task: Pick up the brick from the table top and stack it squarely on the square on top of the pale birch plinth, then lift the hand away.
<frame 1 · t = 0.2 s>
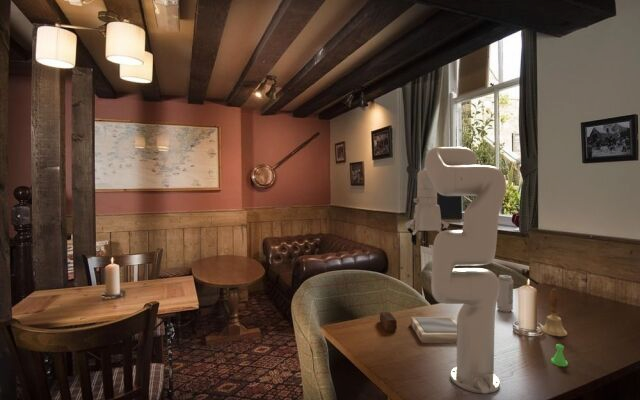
hand: (426, 244, 144), 31 cm above the table, tool pointing down, fingers open, 9 cm apart
energy drink can: (504, 311, 155), on the table
hand bell: (553, 332, 133), on the table
brick: (387, 327, 138), on the table
game piece: (559, 363, 110), on the table
plinth: (437, 333, 132), on the table
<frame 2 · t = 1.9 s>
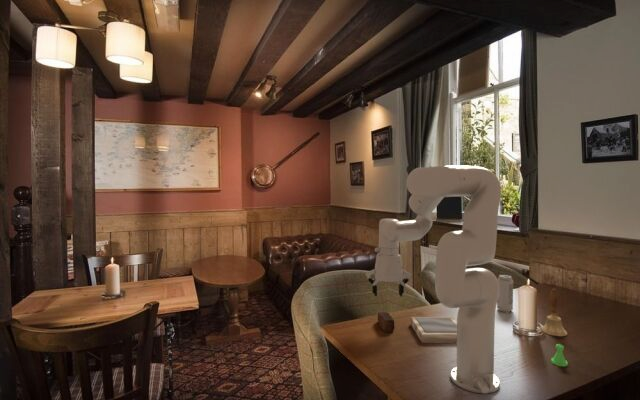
hand: (387, 295, 138), 12 cm above the table, tool pointing down, fingers open, 9 cm apart
nothing on the table moved.
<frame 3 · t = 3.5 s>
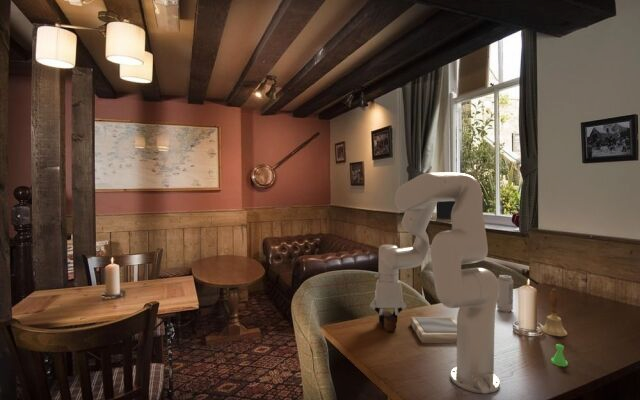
hand: (388, 323, 138), 1 cm above the table, tool pointing down, fingers closed on brick, 4 cm apart
brick: (388, 327, 138), on the table, touching gripper
everything else where it was.
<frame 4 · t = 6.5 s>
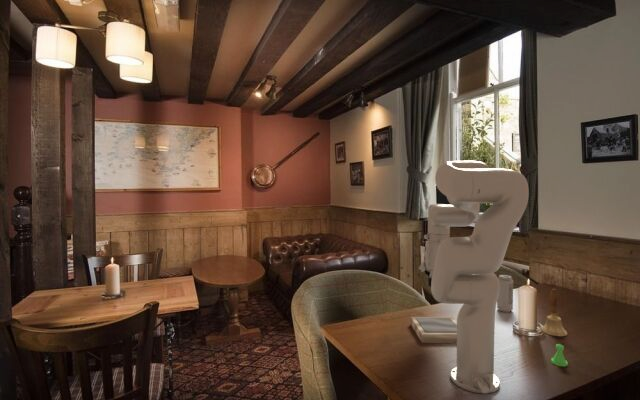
hand: (438, 287, 131), 17 cm above the table, tool pointing down, fingers closed on brick, 4 cm apart
brick: (438, 290, 131), point 16 cm above the table, touching gripper
everything else where it was.
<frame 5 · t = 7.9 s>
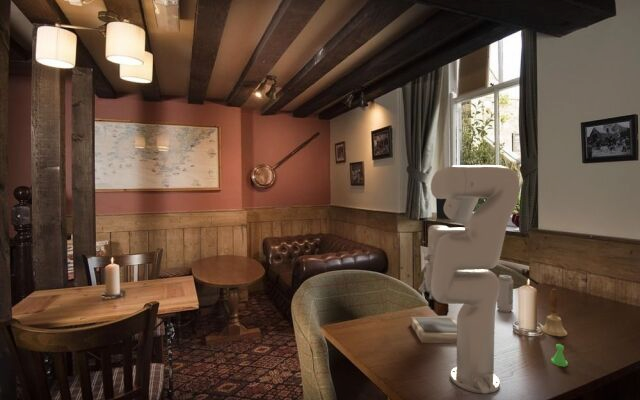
hand: (438, 308, 132), 9 cm above the table, tool pointing down, fingers closed on brick, 4 cm apart
brick: (437, 311, 132), point 8 cm above the table, touching gripper
everything else where it was.
when the fingers open (5 cm above the table, at t = 9.3 s): brick drops 1 cm, resting on plinth.
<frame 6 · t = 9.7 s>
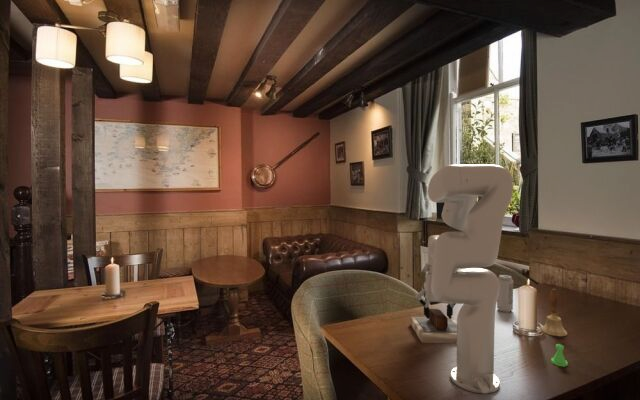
hand: (438, 316, 132), 6 cm above the table, tool pointing down, fingers open, 7 cm apart
brick: (437, 325, 132), point 3 cm above the table, touching plinth
everything else where it was.
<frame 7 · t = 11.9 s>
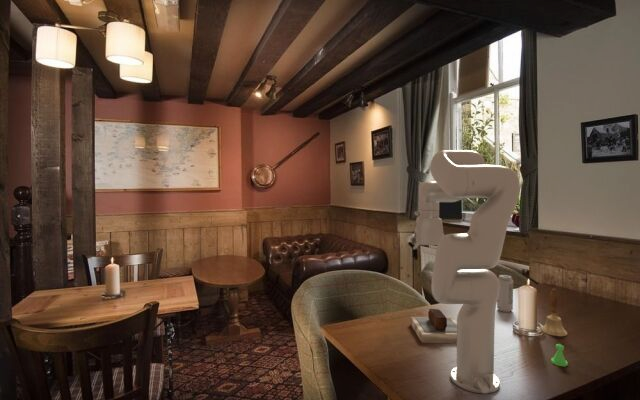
hand: (428, 259, 137), 26 cm above the table, tool pointing down, fingers open, 9 cm apart
nothing on the table moved.
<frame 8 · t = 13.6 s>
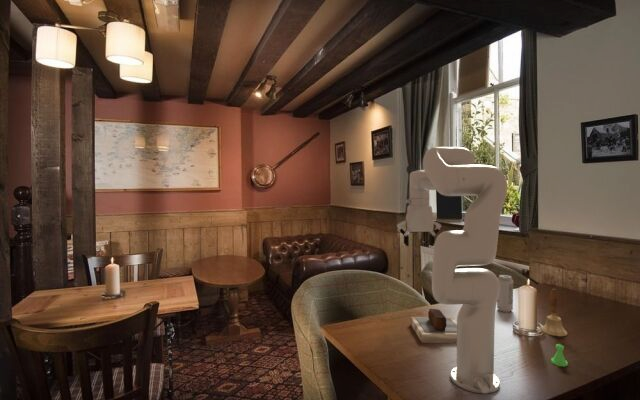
hand: (418, 245, 143), 30 cm above the table, tool pointing down, fingers open, 9 cm apart
nothing on the table moved.
at the end: brick inside the target area on the plinth (0.6 cm from its centre), point 3.0 cm above the plinth's base; brick tilted 0°; the gripper is holding nothing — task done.
